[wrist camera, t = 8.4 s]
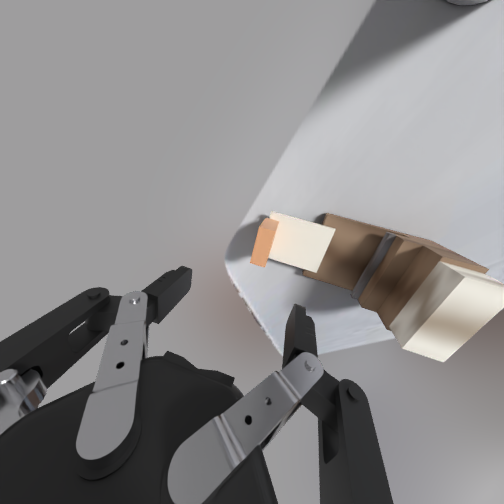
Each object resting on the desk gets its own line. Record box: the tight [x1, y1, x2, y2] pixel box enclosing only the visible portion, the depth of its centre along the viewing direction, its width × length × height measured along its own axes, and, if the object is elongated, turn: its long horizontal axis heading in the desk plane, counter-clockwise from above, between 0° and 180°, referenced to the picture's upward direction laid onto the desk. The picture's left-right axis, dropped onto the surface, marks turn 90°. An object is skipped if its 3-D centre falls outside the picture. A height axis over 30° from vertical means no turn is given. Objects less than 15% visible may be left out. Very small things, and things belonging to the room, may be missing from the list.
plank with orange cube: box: [250, 211, 336, 273], centre depth 24 cm, size 7×10×6 cm
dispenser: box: [303, 213, 504, 362], centre depth 22 cm, size 10×14×11 cm
